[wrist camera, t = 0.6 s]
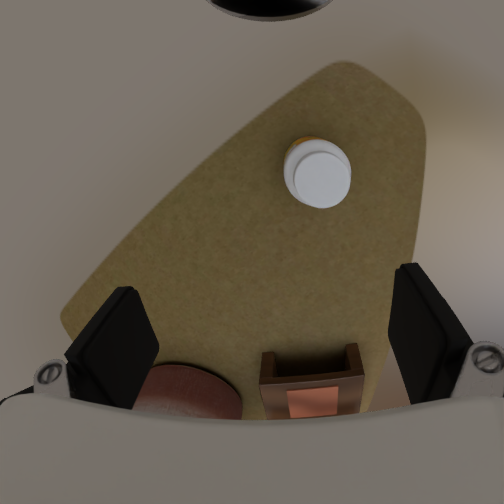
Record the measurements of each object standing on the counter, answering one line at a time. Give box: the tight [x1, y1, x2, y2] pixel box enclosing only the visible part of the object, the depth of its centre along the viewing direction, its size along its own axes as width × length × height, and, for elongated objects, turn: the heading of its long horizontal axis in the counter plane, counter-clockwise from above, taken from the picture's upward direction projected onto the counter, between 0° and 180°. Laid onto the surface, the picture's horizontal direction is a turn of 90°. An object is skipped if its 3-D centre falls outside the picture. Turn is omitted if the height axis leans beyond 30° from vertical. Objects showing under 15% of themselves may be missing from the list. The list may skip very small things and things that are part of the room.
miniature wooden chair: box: [259, 343, 365, 420], centre depth 36 cm, size 12×13×10 cm
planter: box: [132, 365, 242, 420], centre depth 38 cm, size 18×18×16 cm
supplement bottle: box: [284, 136, 351, 208], centre depth 24 cm, size 5×5×10 cm
